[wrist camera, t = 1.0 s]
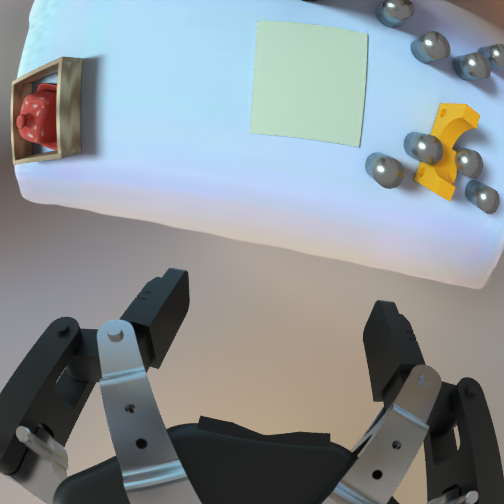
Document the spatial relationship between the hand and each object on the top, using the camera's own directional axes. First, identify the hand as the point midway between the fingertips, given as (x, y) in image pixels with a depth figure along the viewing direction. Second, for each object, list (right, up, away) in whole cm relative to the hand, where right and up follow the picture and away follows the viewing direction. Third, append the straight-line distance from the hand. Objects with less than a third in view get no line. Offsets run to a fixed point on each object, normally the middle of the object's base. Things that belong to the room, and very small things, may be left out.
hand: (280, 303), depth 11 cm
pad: (+6, +23, +17) cm, 30 cm away
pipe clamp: (+24, +16, +18) cm, 34 cm away
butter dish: (-36, +27, +23) cm, 51 cm away
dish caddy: (-37, +27, +23) cm, 51 cm away
